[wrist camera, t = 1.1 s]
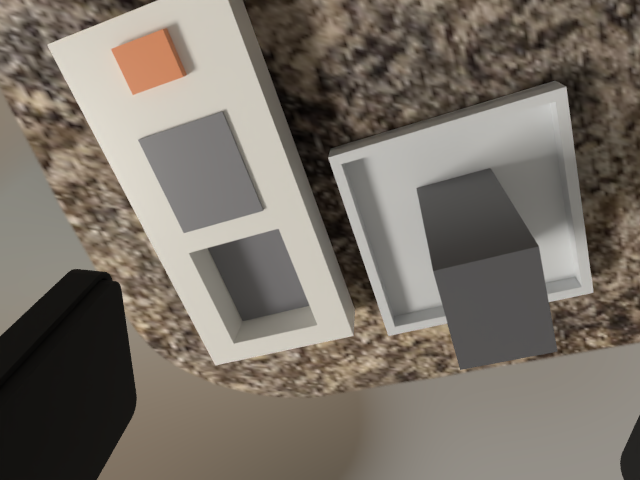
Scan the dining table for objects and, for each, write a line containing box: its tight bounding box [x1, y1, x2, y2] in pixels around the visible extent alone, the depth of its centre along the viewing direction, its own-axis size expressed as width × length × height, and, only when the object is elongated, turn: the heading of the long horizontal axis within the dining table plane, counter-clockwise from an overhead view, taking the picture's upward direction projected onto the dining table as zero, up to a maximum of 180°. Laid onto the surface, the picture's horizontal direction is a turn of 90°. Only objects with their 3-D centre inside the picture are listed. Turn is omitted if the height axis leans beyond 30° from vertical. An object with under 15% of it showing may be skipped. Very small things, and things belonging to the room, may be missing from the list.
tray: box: [328, 81, 593, 336], centre depth 31 cm, size 13×13×2 cm
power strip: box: [48, 0, 355, 365], centre depth 31 cm, size 10×22×4 cm, turn 19°
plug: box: [416, 168, 557, 370], centre depth 27 cm, size 4×6×10 cm
